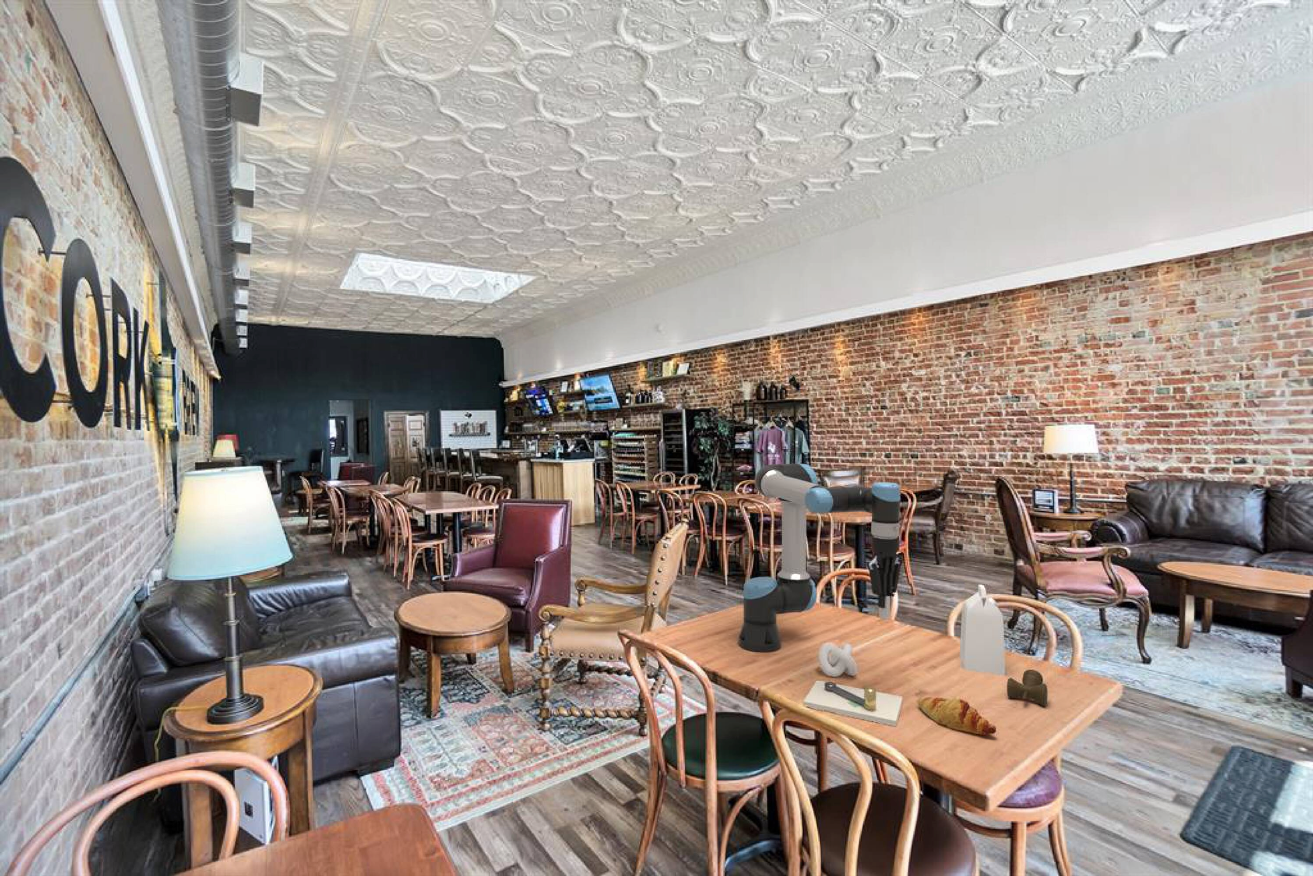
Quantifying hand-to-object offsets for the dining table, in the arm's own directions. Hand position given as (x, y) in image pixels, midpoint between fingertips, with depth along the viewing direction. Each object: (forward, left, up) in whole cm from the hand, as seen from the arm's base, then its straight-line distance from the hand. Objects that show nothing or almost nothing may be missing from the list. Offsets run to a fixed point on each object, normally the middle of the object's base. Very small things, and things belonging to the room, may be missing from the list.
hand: (884, 618), depth 171 cm
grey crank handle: (-8, -10, -21) cm, 24 cm away
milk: (+25, +39, -23) cm, 52 cm away
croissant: (+18, -7, -23) cm, 30 cm away
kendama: (+37, +20, -23) cm, 48 cm away
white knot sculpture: (-15, +12, -23) cm, 30 cm away
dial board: (-7, -9, -23) cm, 25 cm away
